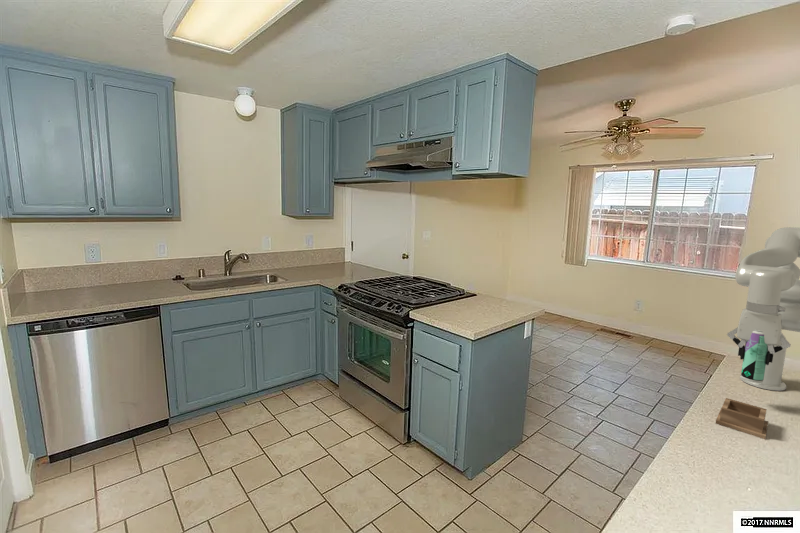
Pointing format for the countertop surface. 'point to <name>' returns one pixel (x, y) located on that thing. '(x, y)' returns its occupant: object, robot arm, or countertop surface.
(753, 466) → the countertop surface
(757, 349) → the spray can
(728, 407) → the can holder
